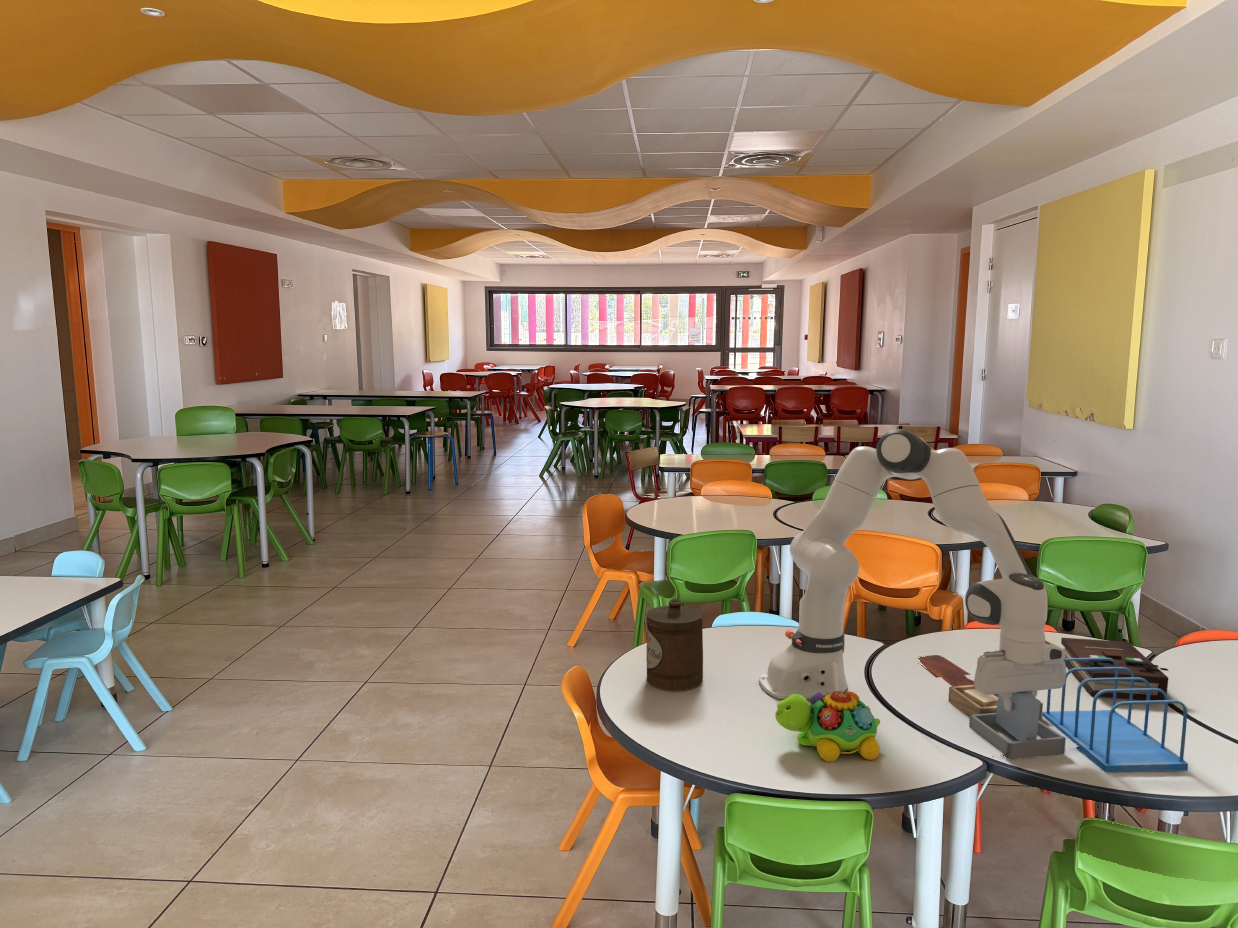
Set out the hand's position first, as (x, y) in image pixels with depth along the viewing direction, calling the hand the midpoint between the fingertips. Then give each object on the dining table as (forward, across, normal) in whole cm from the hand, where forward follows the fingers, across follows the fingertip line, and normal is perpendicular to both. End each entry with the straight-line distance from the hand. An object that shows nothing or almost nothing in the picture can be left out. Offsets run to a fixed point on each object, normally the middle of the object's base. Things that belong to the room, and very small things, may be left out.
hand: (1017, 708), depth 182 cm
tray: (+8, 0, 0) cm, 8 cm away
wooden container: (+8, -66, +48) cm, 81 cm away
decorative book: (+8, +46, +26) cm, 54 cm away
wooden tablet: (+8, +8, +37) cm, 39 cm away
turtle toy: (+8, -41, +7) cm, 43 cm away
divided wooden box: (+8, +4, +14) cm, 16 cm away
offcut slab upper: (+5, +1, +14) cm, 15 cm away
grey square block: (+6, 0, 0) cm, 6 cm away
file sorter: (+8, +20, -5) cm, 22 cm away
